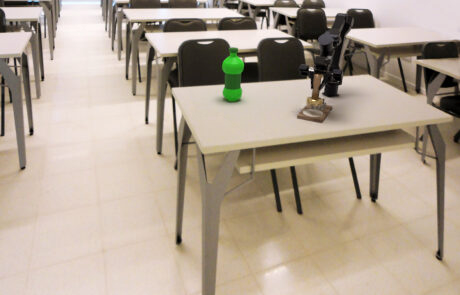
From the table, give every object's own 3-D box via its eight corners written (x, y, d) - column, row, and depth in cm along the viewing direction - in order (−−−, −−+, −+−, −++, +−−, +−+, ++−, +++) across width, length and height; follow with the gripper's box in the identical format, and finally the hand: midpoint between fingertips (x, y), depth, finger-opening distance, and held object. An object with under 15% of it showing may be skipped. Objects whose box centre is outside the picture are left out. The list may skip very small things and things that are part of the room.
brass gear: (320, 100, 167) (324, 72, 161) (324, 106, 160) (328, 76, 154) (304, 100, 166) (308, 71, 160) (308, 106, 160) (311, 76, 154)
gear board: (309, 104, 179) (310, 92, 177) (332, 108, 175) (334, 96, 172) (297, 118, 164) (298, 105, 161) (321, 123, 160) (323, 109, 157)
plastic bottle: (245, 102, 180) (247, 50, 169) (223, 103, 178) (224, 51, 167) (240, 95, 189) (242, 45, 178) (219, 96, 187) (220, 46, 176)
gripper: (302, 45, 160) (291, 76, 156) (346, 50, 152) (336, 83, 148) (305, 59, 169) (295, 89, 166) (347, 65, 162) (337, 96, 158)
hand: (315, 89), depth 159 cm, fingers closed on brass gear, 3 cm apart
